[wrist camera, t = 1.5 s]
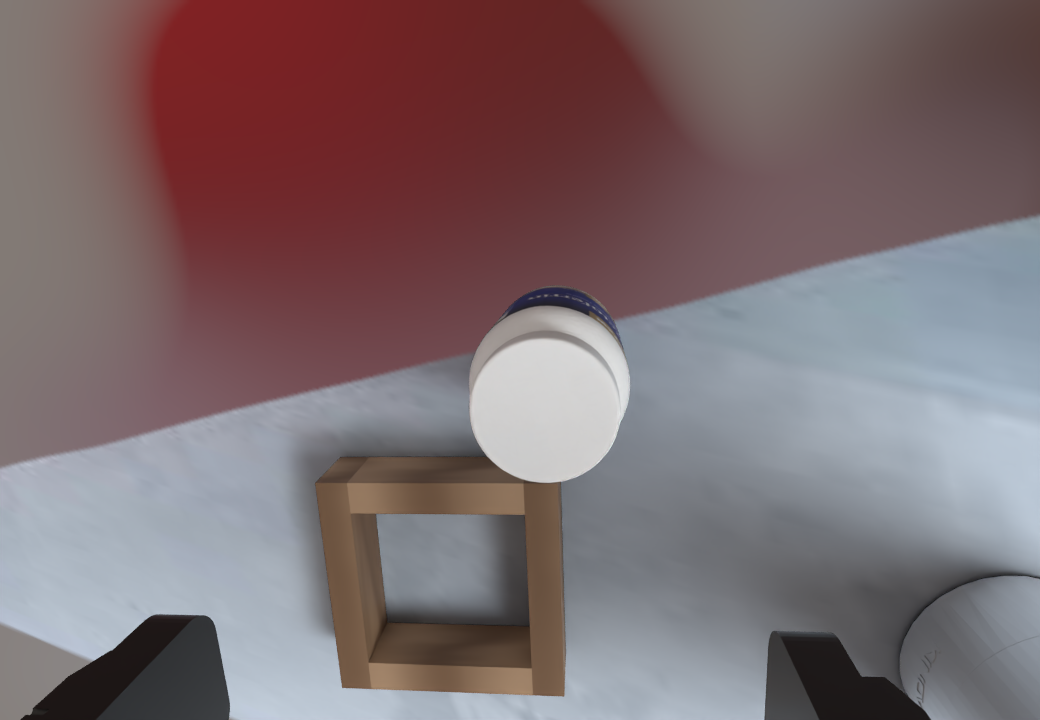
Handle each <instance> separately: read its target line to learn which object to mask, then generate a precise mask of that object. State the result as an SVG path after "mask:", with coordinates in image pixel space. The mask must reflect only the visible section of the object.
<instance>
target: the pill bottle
mask: <svg viewBox="0 0 1040 720" xmlns="http://www.w3.org/2000/svg"><path fill="white" fill-rule="evenodd" d="M469 392H470V400H469V415H470V422H471V426H472V430H473V433H474V436H475V438H476V440H477V442H478V444H479V446H480V447H481V449H482V450H483V451H484V453H485V454H486V455H487V456H488V458H489V459H490V460H491V461H492V462H493V463H495V464H496V465H497V466H498V467H500V468H501V469H502V470H504V471H506V472H507V473H509V474H511V475H513V476H515V477H518V478H520V479H524V480H527V481H532V482H539V483H553V482H561V481H566V480H569V479H572V478H575V477H577V476H580V475H582V474H584V473H585V472H587V471H589V470H590V469H591V468H593V467H594V466H595V465H596V464H597V463H599V462H600V461H601V459H602V458H603V457H604V456H605V455H606V454H607V452H608V451H609V449H610V448H611V446H612V445H613V442H614V440H615V438H616V436H617V432H618V429H619V425H620V422H621V421H622V419H623V416H624V414H625V411H626V408H627V405H628V401H629V395H630V374H629V369H628V364H627V361H626V357H625V354H624V350H623V346H622V343H621V340H620V336H619V333H618V330H617V327H616V325H615V323H614V320H613V319H612V317H611V315H610V314H609V312H608V311H607V310H606V308H605V307H604V306H603V305H602V304H601V303H600V302H599V301H598V300H596V299H595V298H594V297H592V296H591V295H589V294H587V293H586V292H584V291H581V290H578V289H576V288H572V287H567V286H545V287H541V288H538V289H535V290H532V291H530V292H528V293H527V294H525V295H523V296H522V297H520V298H519V299H518V300H516V301H515V302H514V303H513V304H512V305H511V306H510V307H509V308H508V309H507V310H506V311H505V313H504V314H503V315H502V317H500V319H499V320H498V321H497V322H496V324H495V325H494V326H493V327H492V328H491V329H490V331H489V332H488V333H487V334H486V335H485V337H484V339H483V340H482V341H481V343H480V344H479V347H478V348H477V350H476V353H475V355H474V358H473V361H472V364H471V369H470V375H469Z"/></svg>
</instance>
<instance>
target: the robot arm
mask: <svg viewBox="0 0 1040 720" xmlns="http://www.w3.org/2000/svg"><path fill="white" fill-rule="evenodd" d="M900 676H901V680H902V683H903V687H904V690H905V692H906V693H907V695H908V696H907V695H905V694H904V693H903V692H902V691H901V690H899V689H898V688H897V687H896V686H895V685H893V684H892V683H891V682H890V681H889V680H887V679H886V678H885V677H861V675H860V674H859V672H858V670H857V669H856V667H855V665H854V664H853V662H852V660H851V659H850V657H849V655H848V654H847V652H846V650H845V649H844V647H843V645H842V644H841V642H840V641H839V639H838V638H837V637H836V636H835V635H834V634H833V633H826V632H786V631H773V632H772V633H771V635H770V639H769V646H768V664H767V682H766V701H765V720H1040V579H1038V578H1033V577H1028V576H999V577H992V578H985V579H980V580H977V581H974V582H971V583H968V584H965V585H962V586H959V587H957V588H956V589H954V590H952V591H950V592H948V593H946V594H944V595H942V596H941V597H939V598H938V599H937V600H936V601H934V602H933V603H932V604H931V605H929V606H928V607H927V608H926V609H925V610H924V611H923V612H922V613H921V614H920V615H919V617H918V618H917V619H916V620H915V621H914V622H913V624H912V626H911V627H910V629H909V631H908V633H907V635H906V637H905V639H904V641H903V645H902V649H901V653H900ZM229 712H230V702H229V696H228V691H227V685H226V680H225V675H224V670H223V664H222V659H221V654H220V648H219V643H218V638H217V633H216V628H215V625H214V623H213V621H212V620H211V619H210V618H209V617H208V616H202V615H161V614H160V615H153V616H151V617H149V618H148V619H146V620H145V621H144V622H143V623H142V624H140V625H139V626H138V627H137V628H136V629H135V630H134V631H133V632H132V633H131V634H130V635H129V636H128V637H126V638H125V639H124V640H123V641H122V642H121V643H120V644H119V645H118V646H117V647H116V648H115V649H114V650H112V651H109V652H108V653H106V654H104V655H103V656H101V657H99V658H98V659H96V660H95V661H93V662H91V663H90V664H88V665H86V666H85V667H83V668H82V669H80V670H78V671H77V672H75V673H73V674H72V675H70V676H68V677H67V678H66V679H65V680H64V681H63V682H62V683H61V684H60V685H58V686H57V687H56V688H55V689H54V690H53V691H52V692H51V693H49V694H48V695H47V696H46V697H45V698H44V699H43V700H42V701H41V702H40V703H38V704H37V705H36V706H35V707H34V708H33V712H32V714H31V715H25V716H24V717H23V718H22V719H21V720H229Z"/></svg>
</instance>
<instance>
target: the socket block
mask: <svg viewBox="0 0 1040 720" xmlns="http://www.w3.org/2000/svg"><path fill="white" fill-rule="evenodd" d="M315 486H316V493H317V501H318V508H319V516H320V523H321V531H322V539H323V546H324V554H325V561H326V569H327V576H328V584H329V591H330V599H331V607H332V614H333V622H334V629H335V637H336V644H337V652H338V659H339V667H340V674H341V682H342V688H362V689H387V690H413V691H438V692H464V693H490V694H515V695H541V696H564V689H565V660H566V643H565V610H564V576H563V543H562V509H561V482H553V483H539V482H532V481H527V480H524V479H520V478H518V477H515V476H513V475H511V474H509V473H507V472H506V471H504V470H502V469H501V468H500V467H498V466H497V465H496V464H495V463H493V462H492V461H491V460H490V459H489V458H488V457H340V458H339V459H338V460H337V461H336V462H335V463H334V464H333V465H332V466H331V467H330V468H329V469H328V470H327V471H326V472H325V473H324V475H323V476H322V477H321V478H320V479H319V480H318V481H317V482H316V483H315ZM376 514H491V515H525V532H526V554H527V575H528V597H529V619H530V626H495V625H458V624H421V623H387V614H386V605H385V596H384V586H383V577H382V568H381V559H380V550H379V540H378V531H377V522H376Z"/></svg>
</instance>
